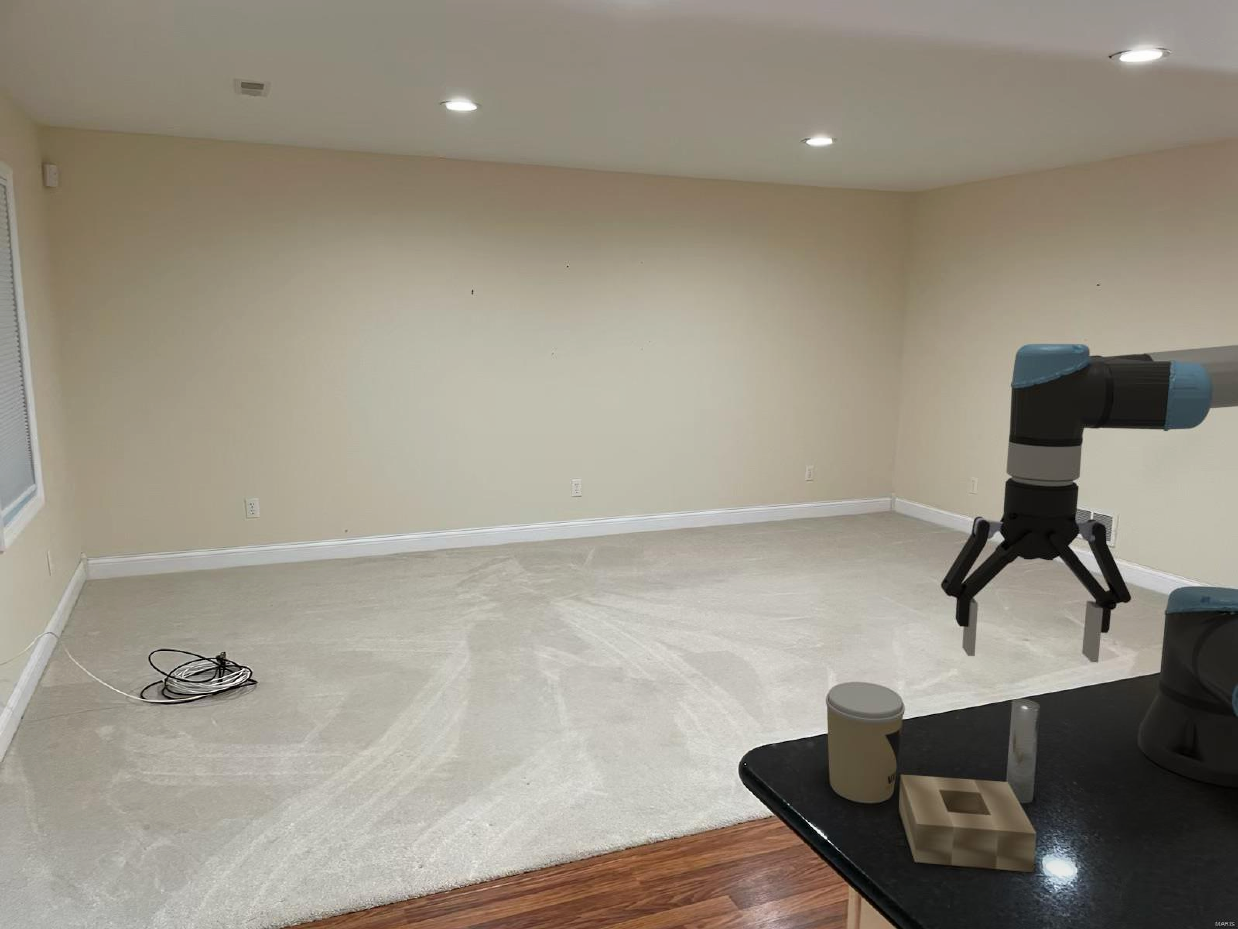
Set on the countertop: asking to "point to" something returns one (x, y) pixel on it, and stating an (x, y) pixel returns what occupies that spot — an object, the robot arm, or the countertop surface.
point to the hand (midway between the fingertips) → (1028, 655)
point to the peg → (1023, 748)
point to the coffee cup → (863, 740)
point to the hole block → (966, 823)
